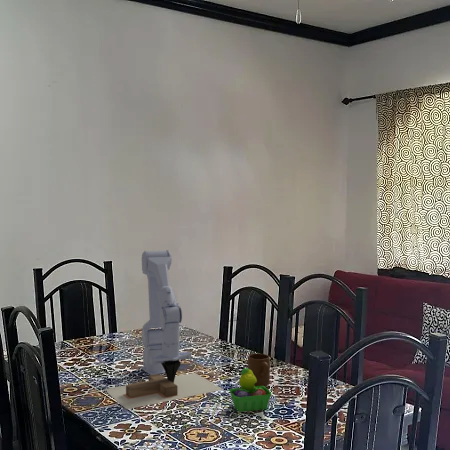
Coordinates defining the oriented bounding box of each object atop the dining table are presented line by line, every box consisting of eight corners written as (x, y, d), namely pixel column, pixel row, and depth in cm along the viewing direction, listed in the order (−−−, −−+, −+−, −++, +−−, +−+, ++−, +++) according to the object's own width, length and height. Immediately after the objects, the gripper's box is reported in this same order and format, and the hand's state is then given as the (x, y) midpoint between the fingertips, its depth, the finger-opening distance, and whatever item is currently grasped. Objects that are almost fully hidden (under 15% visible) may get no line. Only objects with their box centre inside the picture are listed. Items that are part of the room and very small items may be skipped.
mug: (277, 390, 188) (278, 362, 187) (256, 392, 185) (256, 364, 185) (265, 379, 199) (265, 352, 199) (244, 380, 197) (244, 354, 196)
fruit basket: (235, 414, 167) (236, 376, 167) (227, 403, 176) (227, 367, 175) (272, 410, 170) (272, 373, 170) (262, 400, 179) (262, 364, 178)
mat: (104, 390, 187) (104, 389, 187) (194, 374, 205) (194, 372, 205) (126, 410, 170) (126, 409, 170) (223, 390, 188) (223, 389, 188)
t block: (120, 389, 187) (120, 380, 187) (159, 382, 195) (159, 373, 194) (136, 403, 175) (136, 393, 175) (177, 394, 183) (177, 385, 183)
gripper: (155, 348, 181) (155, 389, 182) (195, 342, 189) (195, 382, 189) (146, 343, 187) (146, 383, 188) (185, 337, 195) (185, 376, 195)
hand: (170, 382), depth 189 cm, fingers closed
